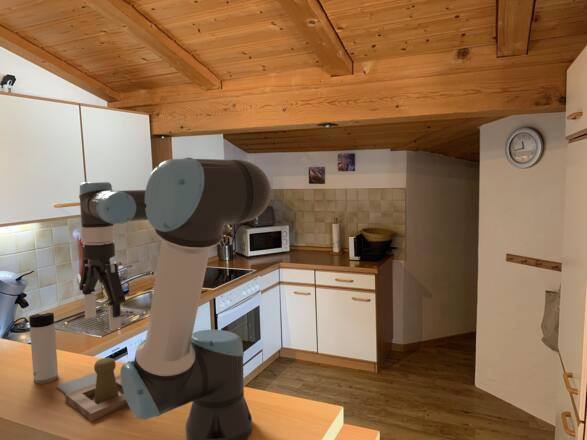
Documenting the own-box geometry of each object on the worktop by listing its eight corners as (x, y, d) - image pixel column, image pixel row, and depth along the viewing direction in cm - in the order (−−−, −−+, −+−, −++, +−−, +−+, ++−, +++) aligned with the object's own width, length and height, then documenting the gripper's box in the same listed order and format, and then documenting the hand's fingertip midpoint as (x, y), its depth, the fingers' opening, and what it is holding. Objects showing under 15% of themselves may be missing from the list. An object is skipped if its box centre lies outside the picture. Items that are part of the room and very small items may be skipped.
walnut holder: (147, 397, 117) (147, 390, 117) (91, 421, 106) (90, 413, 105) (120, 381, 127) (119, 374, 126) (65, 401, 115) (65, 394, 115)
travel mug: (32, 386, 124) (27, 317, 122) (35, 376, 130) (30, 311, 128) (57, 381, 127) (52, 314, 125) (58, 372, 133) (54, 308, 131)
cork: (122, 393, 119) (120, 354, 118) (114, 405, 113) (111, 364, 112) (100, 394, 119) (97, 355, 118) (90, 405, 113) (88, 364, 112)
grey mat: (116, 380, 127) (116, 378, 127) (70, 397, 117) (69, 395, 117) (102, 371, 133) (102, 370, 133) (56, 387, 123) (56, 385, 123)
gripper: (137, 245, 106) (141, 330, 109) (91, 236, 122) (94, 309, 125) (107, 249, 101) (112, 338, 103) (62, 239, 117) (67, 316, 119)
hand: (102, 323), depth 114 cm, fingers open, 13 cm apart
